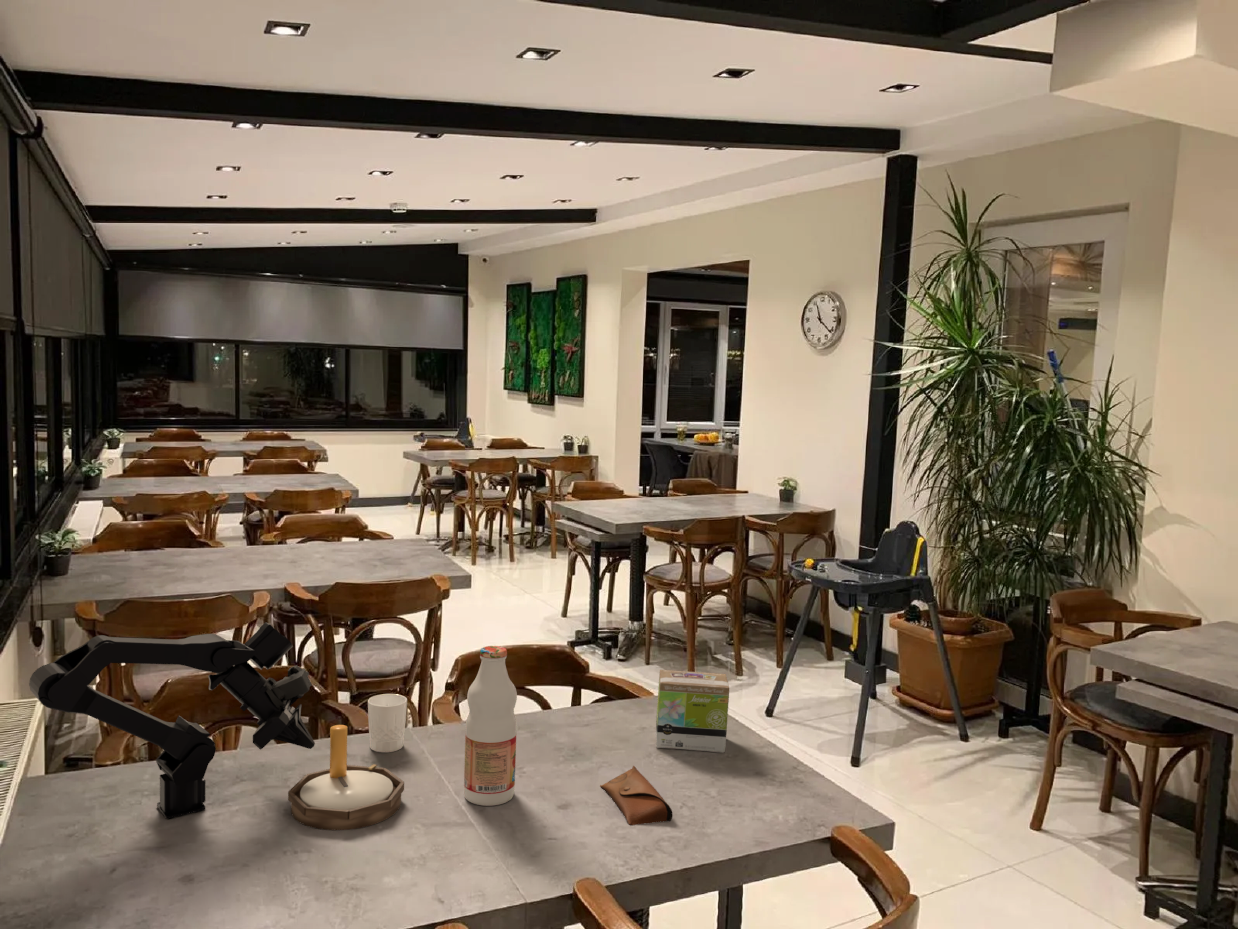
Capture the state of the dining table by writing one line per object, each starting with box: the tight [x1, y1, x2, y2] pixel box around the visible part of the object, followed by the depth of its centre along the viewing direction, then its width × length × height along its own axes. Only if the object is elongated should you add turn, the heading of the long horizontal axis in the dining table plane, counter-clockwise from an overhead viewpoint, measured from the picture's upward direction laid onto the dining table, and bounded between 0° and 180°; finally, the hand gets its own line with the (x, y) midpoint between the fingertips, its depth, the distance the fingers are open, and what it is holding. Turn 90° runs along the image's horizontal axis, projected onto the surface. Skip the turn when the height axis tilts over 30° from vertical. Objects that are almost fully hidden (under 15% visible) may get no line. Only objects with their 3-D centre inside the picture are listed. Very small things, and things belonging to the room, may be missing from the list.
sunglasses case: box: [599, 765, 674, 826], centre depth 178 cm, size 18×7×7 cm
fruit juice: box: [463, 645, 518, 807], centre depth 177 cm, size 9×9×28 cm
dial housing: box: [287, 763, 405, 831], centre depth 172 cm, size 19×19×4 cm
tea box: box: [655, 669, 730, 754], centre depth 208 cm, size 15×10×15 cm
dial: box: [300, 724, 393, 810], centre depth 171 cm, size 16×16×10 cm
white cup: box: [367, 693, 408, 753], centre depth 199 cm, size 8×8×10 cm
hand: (313, 746), depth 176 cm, fingers closed
